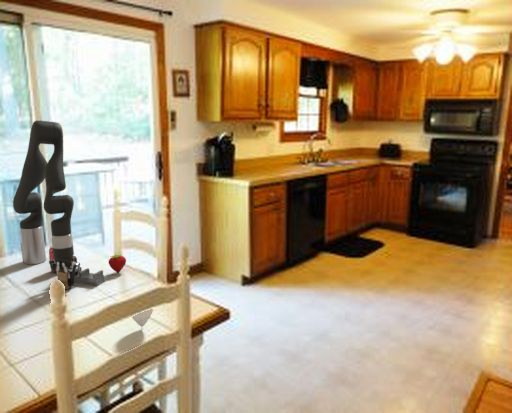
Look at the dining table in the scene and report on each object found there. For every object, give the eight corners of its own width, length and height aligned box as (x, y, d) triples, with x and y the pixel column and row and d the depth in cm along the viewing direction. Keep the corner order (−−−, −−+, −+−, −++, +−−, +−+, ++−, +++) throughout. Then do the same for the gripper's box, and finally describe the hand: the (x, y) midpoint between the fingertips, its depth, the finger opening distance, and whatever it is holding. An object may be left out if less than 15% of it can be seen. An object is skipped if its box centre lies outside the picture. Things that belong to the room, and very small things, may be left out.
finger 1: (62, 273, 175) (61, 258, 173) (69, 270, 178) (68, 255, 177) (71, 275, 173) (70, 259, 172) (78, 271, 177) (76, 256, 175)
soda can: (71, 268, 189) (68, 243, 186) (62, 274, 182) (60, 248, 179) (56, 267, 189) (54, 242, 187) (47, 273, 182) (44, 247, 180)
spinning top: (144, 320, 142) (143, 288, 139) (158, 328, 137) (157, 294, 134) (125, 329, 136) (123, 295, 133) (139, 337, 131) (137, 302, 129)
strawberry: (128, 273, 184) (127, 252, 181) (110, 276, 180) (109, 254, 178) (125, 269, 189) (124, 248, 186) (108, 272, 185) (106, 250, 183)
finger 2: (67, 289, 165) (65, 273, 163) (58, 288, 166) (57, 271, 165) (75, 285, 169) (73, 269, 168) (67, 283, 170) (65, 267, 169)
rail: (57, 280, 176) (56, 268, 174) (66, 275, 180) (65, 265, 179) (96, 286, 170) (95, 274, 168) (104, 281, 174) (103, 270, 173)
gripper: (41, 245, 162) (45, 286, 166) (70, 249, 158) (74, 291, 162) (55, 240, 169) (59, 279, 173) (84, 244, 165) (87, 284, 169)
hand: (66, 284), depth 167 cm, fingers closed on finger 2, 4 cm apart
